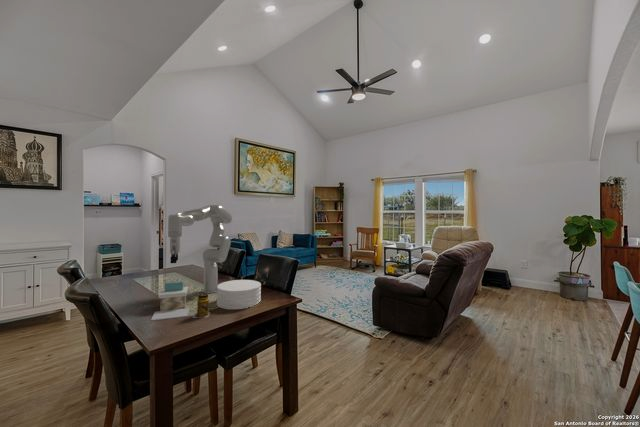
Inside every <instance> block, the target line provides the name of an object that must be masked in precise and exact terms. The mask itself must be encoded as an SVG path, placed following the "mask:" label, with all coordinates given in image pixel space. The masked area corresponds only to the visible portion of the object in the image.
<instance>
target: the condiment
mask: <svg viewBox="0 0 640 427" xmlns="http://www.w3.org/2000/svg"><path fill="white" fill-rule="evenodd" d="M197 298H198V299H197V303H196V304H197V305H196V306H197V307H196V309H197V310H196V311H197V312H195V313H193V316H191V317H192V319H197V318H198V319H201V318H203V319H204V318H208V317H209V316H210V314H211V312H209V311H210V310H209V308H210V306H209V305H210V302H209V301H210V299H209V293H200V294H198V297H197Z"/></svg>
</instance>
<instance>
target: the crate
mask: <svg viewBox="0 0 640 427" xmlns="http://www.w3.org/2000/svg"><path fill="white" fill-rule="evenodd" d="M186 303H187V296H181V297H170V298H160V306H159V309H160V310H159V311H166V310H175V309H185V308H186Z"/></svg>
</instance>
